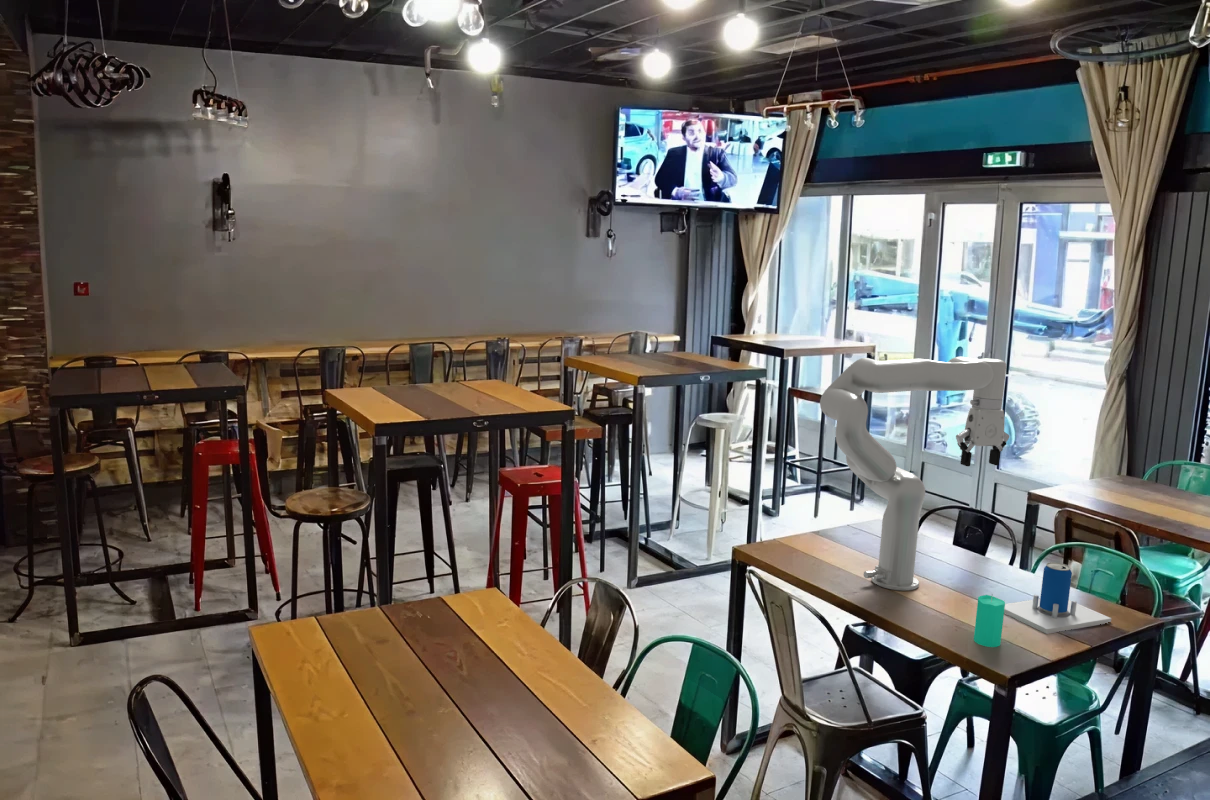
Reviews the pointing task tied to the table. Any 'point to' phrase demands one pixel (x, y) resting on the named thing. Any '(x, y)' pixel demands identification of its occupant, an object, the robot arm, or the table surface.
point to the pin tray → (1054, 616)
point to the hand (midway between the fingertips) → (979, 464)
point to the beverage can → (1055, 587)
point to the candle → (989, 621)
